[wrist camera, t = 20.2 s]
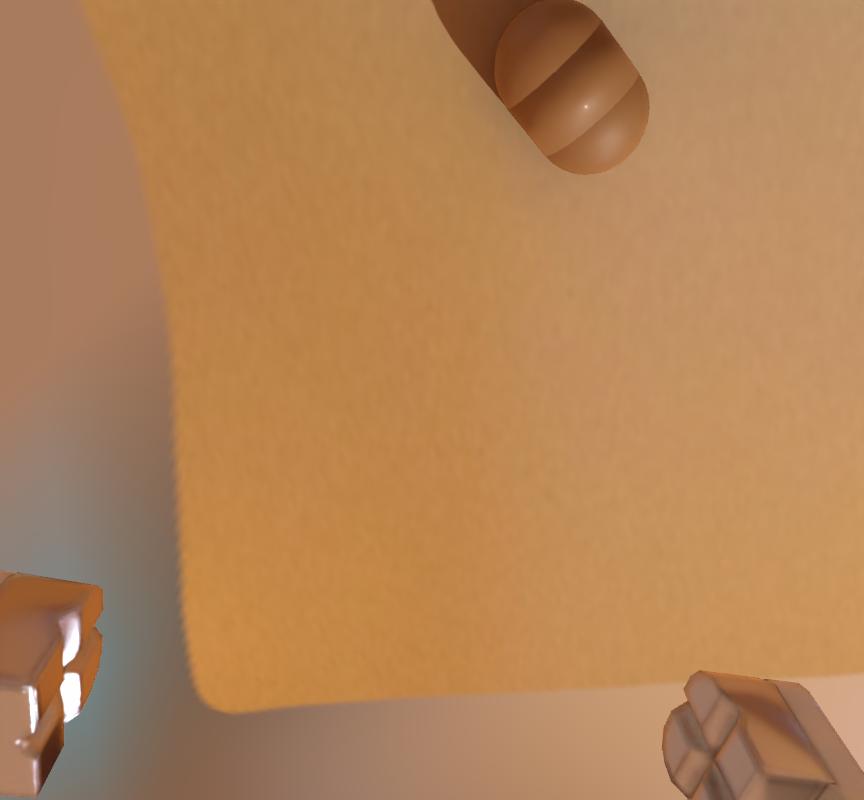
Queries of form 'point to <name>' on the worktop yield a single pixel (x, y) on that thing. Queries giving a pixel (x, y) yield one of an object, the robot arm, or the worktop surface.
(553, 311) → the worktop surface
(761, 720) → the robot arm
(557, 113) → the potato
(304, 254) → the worktop surface
